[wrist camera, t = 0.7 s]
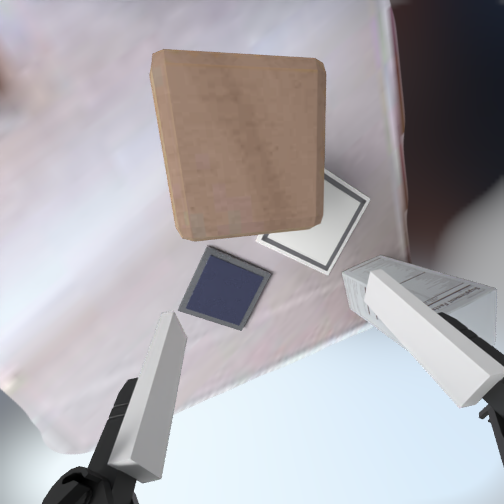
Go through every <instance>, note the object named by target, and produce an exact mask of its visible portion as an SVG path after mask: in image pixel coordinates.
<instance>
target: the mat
mask: <svg viewBox="0 0 504 504" xmlns="http://www.w3.org/2000/svg"><path fill="white" fill-rule="evenodd" d="M370 200H371V199H370V198H368V197H367V196H365V195H364V194H362V193H361V192H359V191H358V190H356V189H355V188H353V187H352V186H350V185H349V184H347V183H346V182H344V181H343V180H341V179H340V178H338V177H337V176H335V175H334V174H332V173H331V172H329V171H328V170H326V169H325V168H324V211H323V218H322V221H321V224H318V225H316V226H314V227H312V228H311V229H309V230H299V231H289V232H280V233H270V234H261V235H258V236H257V238H256V240H255V242H257V243H259V244H262V245H264V246H266V247H268V248H270V249H272V250H274V251H276V252H279V253H281V254H283V255H285V256H287V257H289V258H291V259H293V260H296V261H298V262H300V263H302V264H304V265H306V266H308V267H310V268H313V269H315V270H317V271H319V272H321V273H323V274H325V275H327V276H328V275H329V273H330V271H331V269H332V267H333V266H334V264H335V262H336V260H337V259H338V257H339V255H340V253H341V251H342V250H343V248H344V246H345V244H346V242H347V241H348V239H349V237H350V235H351V234H352V232H353V230H354V228H355V226H356V225H357V223H358V221H359V219H360V218H361V216H362V214H363V212H364V210H365V209H366V207H367V205H368V203H369V201H370Z"/></svg>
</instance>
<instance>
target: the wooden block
mask: <svg viewBox="0 0 504 504" xmlns="http://www.w3.org/2000/svg"><path fill="white" fill-rule="evenodd" d="M150 81H151V87H152V93H153V99H154V104H155V110H156V116H157V122H158V128H159V133H160V139H161V145H162V151H163V157H164V162H165V168H166V174H167V180H168V186H169V192H170V197H171V203H172V209H173V215H174V221H175V226H176V229H177V230H178V232H179V234H180V235H181V237H182V238H184V239H187V240H191V241H203V240H213V239H223V238H232V237H242V236H251V235H261V234H270V233H280V232H289V231H299V230H309V229H311V228H312V227H314V226H316V225H318V224H321V221H322V218H323V211H324V161H325V111H326V71H325V68H324V64H323V63H322V62H320V61H319V60H317V59H316V58H304V57H287V56H270V55H254V54H237V53H220V52H203V51H187V50H170V49H163V50H160V51H158V52H156V53H153V54H152V63H151V70H150Z"/></svg>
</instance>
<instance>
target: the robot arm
mask: <svg viewBox="0 0 504 504" xmlns="http://www.w3.org/2000/svg"><path fill="white" fill-rule="evenodd" d="M364 302H365V303H366V304H367V305H368V306H369V307H370V308H371V310H372V311H373V312H374V313H375V314H376V315H377V316H378V317H379V319H380V320H381V321H382V322H383V323H384V324H385V325H386V326H387V328H388V329H389V330H390V331H391V332H392V333H393V334H394V335H395V337H396V338H397V339H398V340H399V341H400V342H401V343H402V344H403V346H404V347H405V348H406V349H407V350H408V351H409V352H410V353H411V355H412V356H413V357H414V358H415V359H416V360H417V361H418V362H419V363H420V365H422V367H423V368H424V369H425V370H426V371H427V372H428V374H429V375H430V376H431V377H432V378H433V379H434V380H435V381H436V382H437V384H438V385H439V386H440V387H441V388H442V389H443V390H444V392H445V393H446V394H447V395H448V396H449V397H450V398H451V399H452V400H453V402H454V403H455V404H456V405H457V406H458V407H459V408H463V407H467V406H472V405H475V404H477V403H478V402H479V401H480V400H481V399H482V398H483V399H484V400H485V401H486V402H487V403H488V405H487V406H486V407H485V408H484V409H483V410H482V411H481V412H479V418H481V419H484V418H485V417H486V416H487V415H489V420H488V422H490V423H491V424H492V428H493V431H494V435H495V438H496V442H497V445H498V449H499V452H500V455H501V459H502V462H503V465H504V355H503V354H502V353H501V352H499V351H498V350H496V349H495V348H494V347H493V346H491V345H490V344H489V343H487V342H486V341H485V340H483V339H482V338H481V337H478V335H477V334H476V333H474V332H473V331H472V330H469V329H468V327H466V326H465V325H464V324H462V323H461V322H460V321H458V320H457V319H455V318H453V317H451V316H449V315H447V314H445V313H443V312H440V313H436V312H435V311H433V310H432V309H431V308H430V307H428V306H427V305H426V304H424V303H423V302H422V301H421V300H419V299H418V298H417V297H416V296H414V295H413V294H412V293H411V292H409V291H408V290H407V289H406V288H404V287H403V286H402V285H401V284H399V283H398V282H397V281H396V280H394V279H393V278H392V277H391V276H389V275H388V274H387V273H386V272H384V271H383V270H382V269H379V270H374V271H370V275H369V279H368V284H367V289H366V293H365V298H364ZM186 342H187V336H186V334H185V332H184V330H183V328H182V326H181V324H180V322H179V320H178V318H177V316H176V314H175V312H174V311H170V312H165V313H162V314H161V317H160V319H159V322H158V325H157V328H156V330H155V333H154V336H153V339H152V342H151V344H150V347H149V350H148V353H147V355H146V358H145V361H144V364H143V367H142V369H141V372H140V375H139V378H134V379H129V380H128V381H127V382H126V383H125V385H124V386H123V388H122V389H121V390H120V392H119V394H118V396H117V399H116V401H115V403H114V408H112V411H111V413H110V415H109V420H107V423H106V425H105V428H104V430H103V432H102V435H101V437H100V440H99V442H98V444H97V447H96V449H95V452H94V454H93V456H92V459H91V461H90V464H89V466H88V468H85V467H80V466H79V467H76V468H73V469H71V470H69V471H68V472H67V473H65V474H64V475H63V476H61V478H60V479H59V480H58V481H57V482H56V483H55V484H54V485H53V486H52V488H51V489H50V491H49V492H48V494H47V495H46V497H45V498H44V500H43V502H42V504H139V503H138V500H137V497H136V494H135V493H134V488H135V483H136V480H137V481H139V482H141V483H146V482H151V481H155V480H159V479H161V478H162V473H163V467H164V462H165V456H166V451H167V445H168V440H169V435H170V429H171V424H172V418H173V413H174V407H175V402H176V396H177V391H178V386H179V380H180V375H181V369H182V364H183V358H184V353H185V347H186Z"/></svg>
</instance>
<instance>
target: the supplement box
mask: <svg viewBox="0 0 504 504" xmlns="http://www.w3.org/2000/svg"><path fill="white" fill-rule="evenodd" d="M379 269H382V270H383V271H384V272H386V273H387V274H388V275H389V276H391V277H392V278H393V279H394V280H396V281H397V282H398V283H399V284H401V285H402V286H403V287H404V288H406V289H407V290H408V291H409V292H411V293H412V294H413V295H414V296H416V297H417V298H418V299H419V300H421V301H422V302H423V303H424V304H426V305H427V306H428V307H430V308H431V309H432V310H433V311H435V312H436V313H440V312H443V313H445V314H447V315H449V316H451V317H453V318H455V319H457V320H458V321H460V322H461V323H462V324H464V325H465V326H466V327H468V329H469V330H472V331H473V332H474V333H476V334H477V335H478V337H481V338H482V339H483V340H485V341H486V342H487V343H489V344H490V345H491V346H493V345H495V340H496V309H497V289H496V288H494V287H490V286H487V285H483V284H480V283H476V282H473V281H469V280H465V279H462V278H458V277H455V276H451V275H448V274H444V273H441V272H437V271H434V270H430V269H426V268H423V267H420V266H416V265H413V264H410V263H406V262H403V261H399V260H396V259H392V258H389V257H385V256H382V255H379V256H377V257H375V258H372V259H370V260H368V261H366V262H363V263H361V264H359V265H357V266H355V267H352V268H350V269H348V270H346V271H343V272H342V276H343V281H344V285H345V289H346V294H347V298H348V302H349V307H350V309H351V310H352V311H354V312H355V313H356V314H358V315H359V316H361V317H362V318H363V319H365V320H366V321H367V322H369V323H370V324H372V325H373V326H374V327H376V328H377V329H378V330H380V331H381V332H383V333H384V334H385V335H387V336H388V337H390V338H391V339H392V340H393V341H395V342H396V343H398V344H399V345H400V346H402V347H403V348H405V347H404V346H403V344H402V343H401V342H400V341H399V340H398V339H397V338H396V337H395V335H394V334H393V333H392V332H391V331H390V330H389V329H388V328H387V326H386V325H385V324H384V323H383V322H382V321H381V320H380V319H379V317H378V316H377V315H376V314H375V313H374V312H373V311H372V310H371V308H370V307H369V306H368V305H367V304H366V303H365V302H364V298H365V293H366V289H367V284H368V279H369V275H370V271H374V270H379ZM405 349H406V348H405ZM406 350H407V349H406ZM407 351H408V350H407Z"/></svg>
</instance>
